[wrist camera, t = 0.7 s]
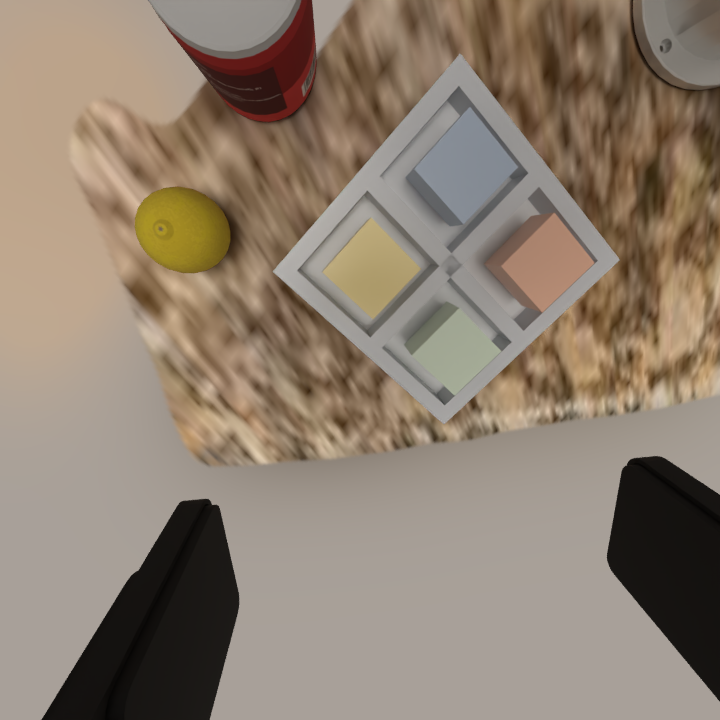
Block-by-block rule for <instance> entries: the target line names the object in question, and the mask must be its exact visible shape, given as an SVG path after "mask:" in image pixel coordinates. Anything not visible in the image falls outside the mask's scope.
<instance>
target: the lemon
mask: <svg viewBox="0 0 720 720" xmlns="http://www.w3.org/2000/svg"><path fill="white" fill-rule="evenodd" d="M135 230H136V235H137V238H138V240H139V242H140V245H141V246H142V248H143V249H144V250H145V252H146V253H147V254H148V256H150V257H151V258H152V259H153V260H154V261H155V262H157V263H158V264H160V265H162V266H164V267H166V268H168V269H170V270H174V271H178V272H181V273H198V272H202V271H206V270H208V269H210V268H212V267H214V266H215V265H217V264H218V263H219V262H220V261H221V260H222V259H223V258H224V256H225V254H226V252H227V251H228V248H229V244H230V228H229V224H228V221H227V219H226V217H225V215H224V213H223V211H222V210H221V209H220V208H219V206H218V205H217V204H216V203H215V202H214V201H213V200H211V199H210V198H209V197H207V196H206V195H204V194H202V193H200V192H198V191H196V190H193V189H189V188H184V187H169V188H163V189H161V190H158V191H156V192H153V193H152V194H150V195H149V196H148V197H147V198H145V199H144V200H143V202H142V203H141V205H140V206H139V208H138V210H137V213H136V217H135Z"/></svg>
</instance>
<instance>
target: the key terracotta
mask: <svg viewBox="0 0 720 720" xmlns="http://www.w3.org/2000/svg"><path fill="white" fill-rule="evenodd" d="M593 264H594V261H593V260H592V259H591V258H590V256H589V255H588V254H587V253H586V251H585V250H584V249H583V248H582V246H581V245H580V244H579V243H578V241H577V240H576V239H575V238H574V236H573V235H572V234H571V233H570V231H569V230H568V229H567V228H566V226H565V225H564V224H563V223H562V221H561V220H560V219H559V218H558V216H557V215H556V214H555V213H548V214H541V215H534V216H530V217H529V218H528V219H527V220H526V221H525V222H524V223H523V224H522V225H521V227H520V228H519V229H518V230H517V231H516V232H515V233H514V234H513V235H512V236H511V237H510V238H509V239H508V240H507V241H506V242H505V243H504V244H503V245H502V246H501V247H500V248H499V249H498V250H497V251H496V252H495V253H494V254H493V255H492V256H491V257H490V258H489V259H488V260H487V261H486V262H485V263H484V265H485V266H486V267H487V268H488V269H489V270H490V271H491V272H492V274H493V275H494V276H495V277H496V278H497V279H498V280H499V281H500V282H501V283H502V285H503V286H504V287H505V288H506V289H507V290H508V291H509V292H510V293H511V295H512V296H513V297H514V298H515V299H516V300H517V301H518V302H519V303H520V304H521V306H524V307H527V308H530V309H533V310H536V311H539V312H542V313H543V312H544V311H545V310H546V309H547V308H548V307H549V306H550V305H551V304H552V303H553V302H554V301H555V300H556V299H557V298H558V297H559V296H560V295H562V294H563V293H564V292H565V291H566V290H567V289H568V288H569V287H570V286H571V285H572V284H573V283H574V282H575V281H576V280H577V279H578V278H580V277H581V276H582V275H583V274H584V273H585V272H586V271H587V270H588V269H589V268H590V267H591V266H592V265H593Z"/></svg>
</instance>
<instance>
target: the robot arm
mask: <svg viewBox="0 0 720 720" xmlns="http://www.w3.org/2000/svg"><path fill="white" fill-rule="evenodd" d="M633 19H634V26H635V34H636V37H637V40H638V43H639V46H640V49H641V52H642V53H643V55H644V57H645V59H646V61H647V62H648V64H649V66H650V67H651V68H652V69H653V70H654V71H655V72H656V73H657V74H658V76H660V77H661V78H663V79H664V80H666V81H667V82H668V83H670V84H672V85H675V86H677V87H680V88H683V89H690V90H704V89H711V88H716V87H718V86H720V0H633ZM607 561H608V564H609V567H610V569H611V571H612V572H613V573H614V575H615V576H616V577H617V578H618V580H619V581H620V582H621V583H622V584H623V586H624V587H625V588H626V589H627V590H628V592H629V593H630V594H631V595H632V596H633V598H634V599H635V600H636V601H637V602H638V604H639V605H640V606H641V607H642V608H643V610H644V611H645V612H646V613H647V614H648V616H649V617H650V618H651V619H652V620H653V622H654V623H655V624H656V625H657V626H658V628H659V629H660V630H661V631H662V632H663V634H664V635H665V636H666V637H667V638H668V640H669V641H670V642H671V643H672V645H673V646H674V647H675V648H676V649H677V650H678V652H679V653H680V654H681V655H682V657H683V658H684V659H685V660H686V661H687V663H688V664H689V665H690V666H691V667H692V669H693V670H694V671H695V672H696V673H697V675H698V676H699V677H700V678H701V679H702V681H703V682H704V683H705V684H706V685H707V687H708V688H709V689H710V690H711V691H712V693H713V694H714V695H715V696H716V697H717V699H718V700H719V701H720V495H719V494H718V493H716V492H715V491H713V490H712V489H710V488H709V487H707V486H706V485H704V484H703V483H701V482H700V481H698V480H697V479H695V478H693V477H692V476H690V475H689V474H688V473H686V472H685V471H683V470H682V469H680V468H679V467H677V466H676V465H674V464H673V463H671V462H670V461H668V460H666V459H665V458H663V457H658V456H653V457H642V458H634V459H631V460H630V461H629V462H628V463H627V466H625V467H624V468H623V470H622V473H621V478H620V484H619V490H618V495H617V501H616V507H615V512H614V518H613V524H612V529H611V535H610V541H609V546H608V553H607ZM238 609H239V592H238V588H237V583H236V579H235V574H234V570H233V565H232V561H231V557H230V552H229V548H228V543H227V539H226V534H225V530H224V525H223V521H222V517H221V512H220V508H219V506H218V505H212V504H211V501H210V500H209V499H199V500H189V501H182V502H180V503H179V505H178V506H177V507H176V509H175V511H174V512H173V514H172V516H171V517H170V519H169V521H168V522H167V524H166V526H165V527H164V529H163V531H162V532H161V534H160V536H159V537H158V539H157V541H156V542H155V544H154V546H153V547H152V549H151V551H150V552H149V554H148V556H147V557H146V559H145V561H144V562H143V564H142V566H141V568H140V569H139V571H137V572H135V573H134V574H133V575H131V577H130V578H129V580H128V581H127V582H126V584H125V585H124V587H123V588H122V590H121V592H120V593H119V595H118V597H117V598H116V600H115V602H114V603H113V605H112V606H111V608H110V610H109V611H108V613H107V614H106V616H105V618H104V619H103V621H102V623H101V624H100V626H99V627H98V629H97V631H96V632H95V634H94V635H93V637H92V639H91V640H90V642H89V644H88V645H87V647H86V648H85V650H84V652H83V653H82V655H81V657H80V658H79V660H78V661H77V663H76V665H75V666H74V668H73V670H72V671H71V673H70V674H69V676H68V678H67V680H66V681H65V683H64V684H63V686H62V688H61V689H60V691H59V692H58V694H57V696H56V697H55V699H54V701H53V702H52V704H51V705H50V707H49V709H48V710H47V712H46V714H45V715H44V717H43V718H42V720H210V716H211V712H212V708H213V704H214V701H215V697H216V693H217V689H218V686H219V682H220V678H221V674H222V671H223V667H224V663H225V659H226V656H227V652H228V648H229V644H230V641H231V637H232V633H233V629H234V626H235V622H236V617H237V614H238Z"/></svg>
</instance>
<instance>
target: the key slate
mask: <svg viewBox="0 0 720 720" xmlns="http://www.w3.org/2000/svg"><path fill="white" fill-rule="evenodd" d="M517 168H518V166H517V165H516V164H515V163H514V161H513V160H512V159H511V158H510V156H509V155H508V154H507V153H506V151H505V150H504V149H503V148H502V146H501V145H500V144H499V143H498V141H497V140H496V139H495V138H494V136H493V135H492V134H491V133H490V131H489V130H488V129H487V128H486V126H485V125H484V124H483V123H482V121H481V120H480V119H479V118H478V116H477V115H476V114H475V113H474V111H473V110H472V109H471V108H470V107H469V108H468V109H467V110H466V111H465V112H464V113H463V114H462V115H461V116H460V117H459V118H458V119H457V120H456V121H455V122H454V123H453V124H452V125H451V127H450V128H449V129H448V130H447V131H446V132H445V133H444V134H443V136H442V137H441V138H440V139H439V140H438V141H437V142H436V143H435V145H434V146H433V147H432V148H431V149H430V150H429V151H428V152H427V154H426V155H425V156H424V157H423V158H422V159H421V160H420V161H419V163H418V164H417V165H416V166H415V167H414V168H413V169H412V170H411V171H410V173H409V174H408V175H407V176H406V177H405V178H406V179H407V180H408V181H409V182H410V183H411V184H412V185H413V187H414V188H415V189H416V190H417V191H418V192H419V193H420V194H421V195H422V196H423V198H424V199H425V200H426V201H427V202H428V203H429V204H430V205H431V206H432V208H433V209H434V210H435V211H436V212H437V213H438V214H439V215H440V216H441V217H442V219H443V220H444V221H445V222H446V223H447V224H448V225H449V226H456V225H463V224H465V222H466V221H467V220H468V219H469V218H470V217H471V216H472V215H473V214H474V213H475V212H476V211H477V210H478V209H479V208H480V207H481V206H482V205H483V204H484V202H485V201H486V200H487V199H488V198H489V197H490V196H491V195H492V194H493V193H494V192H495V191H496V190H497V189H498V188H499V187H500V186H501V185H502V184H503V183H504V181H505V180H506V179H507V178H508V177H509V176H510V175H511V174H512V173H513V172H514V171H515V170H516V169H517Z"/></svg>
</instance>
